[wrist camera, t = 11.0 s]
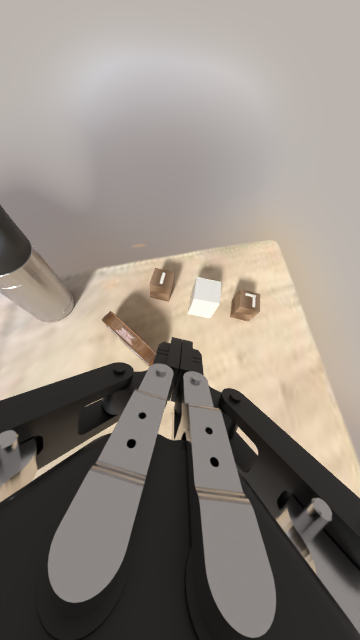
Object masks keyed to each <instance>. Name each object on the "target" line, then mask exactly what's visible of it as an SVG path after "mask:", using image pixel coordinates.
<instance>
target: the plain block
mask: <svg viewBox="0 0 360 640" xmlns="http://www.w3.org/2000/svg"><path fill="white" fill-rule="evenodd" d="M220 294H221V282H219V281H214V280H210V279H205V278H200V277H197V278H196V281H195V284H194V286H193V289H192V292H191V296H190V303H189V309H188V314H191V315H197V316H202V317H207V318H211V316H212V315H213V313H214V312H215V310H216V309H217V307H218V306H219V304H220Z"/></svg>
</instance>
